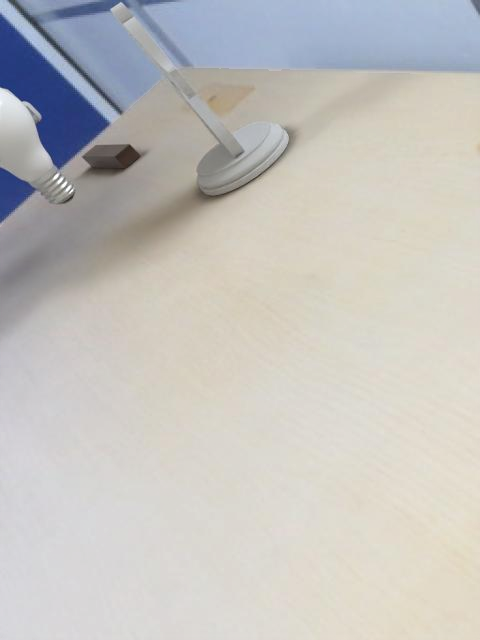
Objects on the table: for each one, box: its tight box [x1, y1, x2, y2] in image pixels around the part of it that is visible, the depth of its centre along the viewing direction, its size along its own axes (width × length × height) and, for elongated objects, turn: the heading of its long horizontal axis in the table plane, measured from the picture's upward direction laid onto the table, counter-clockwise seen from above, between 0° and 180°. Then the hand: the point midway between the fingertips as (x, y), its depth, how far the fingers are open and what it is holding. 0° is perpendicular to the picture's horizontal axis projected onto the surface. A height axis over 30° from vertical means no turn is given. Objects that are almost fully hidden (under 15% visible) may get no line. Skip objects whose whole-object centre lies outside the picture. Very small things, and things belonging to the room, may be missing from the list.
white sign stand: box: [109, 1, 290, 196], centre depth 67 cm, size 10×10×15 cm
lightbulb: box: [0, 87, 77, 205], centre depth 65 cm, size 6×6×11 cm
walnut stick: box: [81, 143, 141, 169], centre depth 90 cm, size 10×2×2 cm, turn 57°
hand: (10, 133), depth 64 cm, fingers closed on lightbulb, 6 cm apart
